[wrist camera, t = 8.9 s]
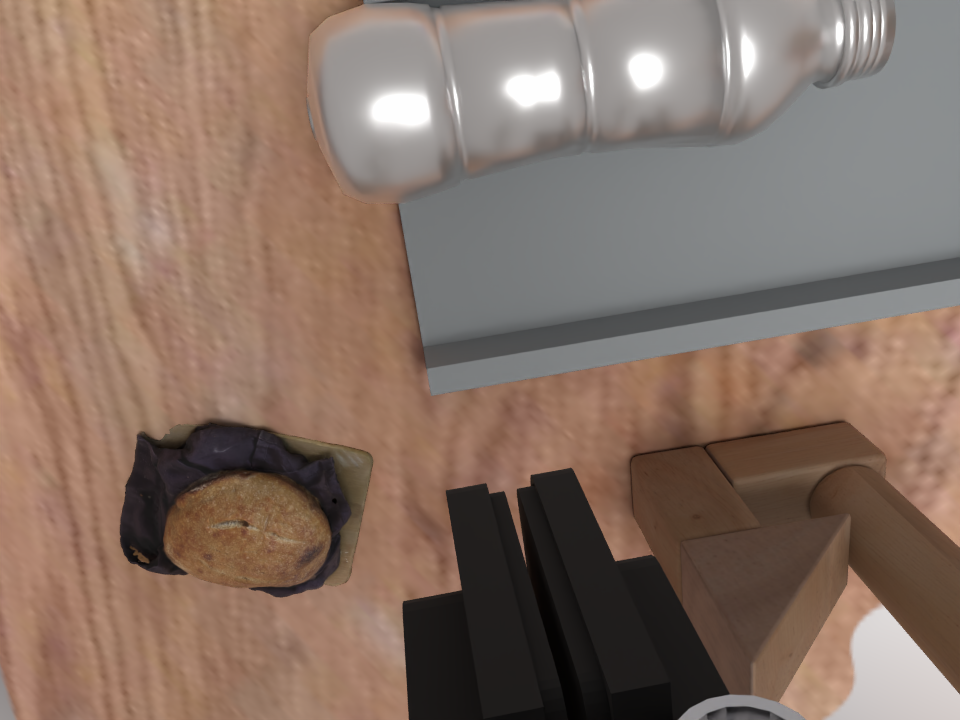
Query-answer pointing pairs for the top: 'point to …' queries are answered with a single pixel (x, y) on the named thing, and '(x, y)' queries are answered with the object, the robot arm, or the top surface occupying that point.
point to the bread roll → (245, 508)
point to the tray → (703, 230)
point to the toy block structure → (792, 548)
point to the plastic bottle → (565, 80)
